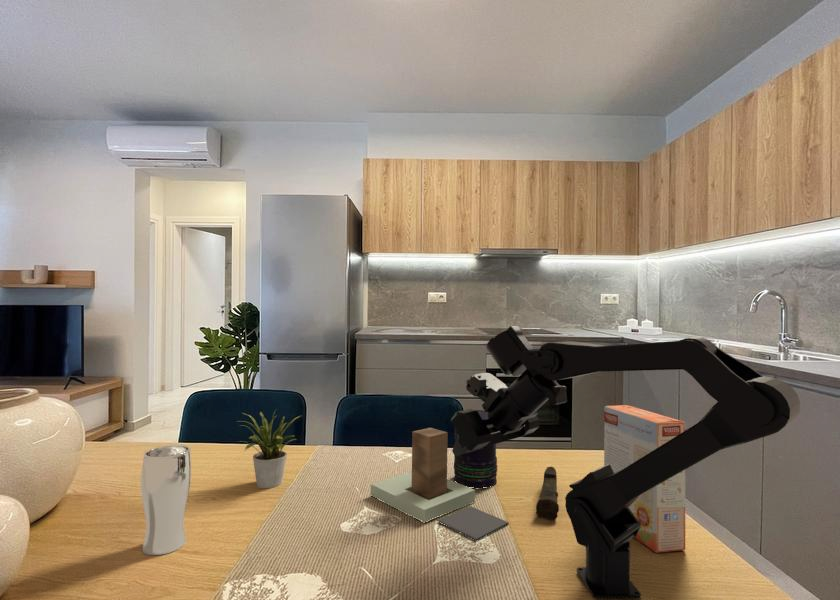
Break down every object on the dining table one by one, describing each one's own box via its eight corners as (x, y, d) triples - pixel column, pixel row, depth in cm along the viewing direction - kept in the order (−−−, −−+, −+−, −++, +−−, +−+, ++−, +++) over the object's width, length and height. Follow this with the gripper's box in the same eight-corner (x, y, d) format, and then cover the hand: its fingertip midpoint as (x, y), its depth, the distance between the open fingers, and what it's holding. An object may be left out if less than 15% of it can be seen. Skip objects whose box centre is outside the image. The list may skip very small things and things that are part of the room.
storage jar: (459, 470, 108) (460, 408, 108) (500, 476, 104) (501, 411, 105) (448, 485, 98) (449, 417, 99) (492, 492, 95) (493, 421, 95)
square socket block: (474, 502, 89) (474, 489, 90) (424, 524, 80) (424, 509, 80) (420, 479, 101) (420, 468, 101) (370, 496, 92) (370, 484, 92)
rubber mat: (508, 524, 80) (508, 522, 80) (476, 541, 74) (476, 538, 74) (470, 508, 87) (470, 506, 87) (437, 522, 81) (437, 520, 81)
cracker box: (688, 551, 72) (687, 421, 73) (655, 555, 71) (655, 422, 71) (630, 513, 86) (630, 403, 86) (602, 515, 84) (602, 404, 85)
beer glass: (178, 530, 76) (180, 442, 77) (196, 544, 72) (199, 450, 72) (131, 546, 71) (135, 451, 71) (148, 562, 66) (152, 460, 67)
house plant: (212, 492, 92) (215, 413, 93) (252, 470, 106) (254, 400, 106) (274, 500, 89) (276, 418, 90) (307, 476, 102) (309, 404, 103)
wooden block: (446, 503, 89) (447, 432, 89) (428, 510, 86) (429, 436, 86) (429, 495, 93) (430, 427, 93) (411, 502, 89) (412, 431, 90)
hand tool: (558, 523, 82) (558, 497, 82) (535, 519, 83) (536, 494, 83) (564, 486, 99) (564, 465, 99) (545, 484, 101) (545, 463, 101)
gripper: (526, 356, 85) (480, 405, 92) (461, 363, 72) (413, 418, 80) (564, 405, 79) (510, 452, 86) (499, 422, 66) (444, 475, 74)
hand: (471, 448), depth 82 cm, fingers open, 9 cm apart
